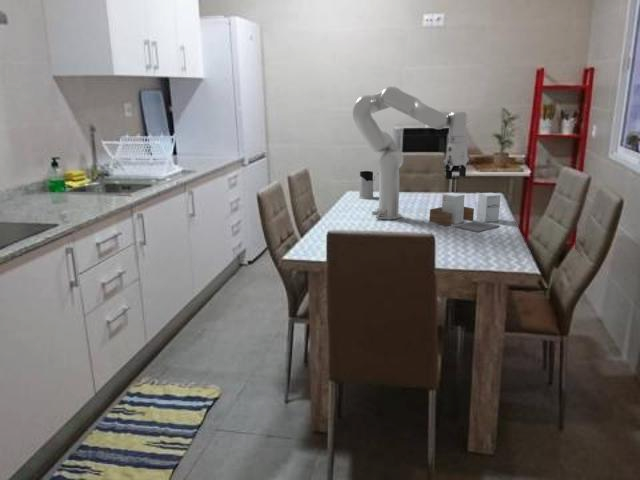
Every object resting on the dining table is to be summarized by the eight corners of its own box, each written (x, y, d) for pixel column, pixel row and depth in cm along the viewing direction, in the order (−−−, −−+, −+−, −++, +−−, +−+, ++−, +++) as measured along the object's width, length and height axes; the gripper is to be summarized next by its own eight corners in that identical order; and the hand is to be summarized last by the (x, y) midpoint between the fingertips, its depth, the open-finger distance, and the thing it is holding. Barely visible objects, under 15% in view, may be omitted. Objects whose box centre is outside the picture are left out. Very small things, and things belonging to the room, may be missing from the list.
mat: (477, 232, 228) (477, 231, 228) (455, 227, 237) (455, 226, 237) (499, 226, 238) (499, 225, 237) (476, 222, 247) (476, 220, 247)
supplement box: (484, 222, 246) (487, 195, 242) (476, 219, 253) (478, 193, 249) (498, 221, 248) (501, 194, 244) (489, 218, 255) (491, 192, 251)
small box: (463, 222, 247) (465, 194, 244) (455, 224, 243) (456, 196, 240) (449, 219, 253) (450, 192, 250) (440, 221, 249) (442, 193, 246)
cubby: (449, 226, 239) (450, 213, 237) (429, 221, 248) (430, 209, 246) (473, 220, 249) (473, 208, 247) (452, 216, 258) (453, 204, 256)
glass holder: (355, 197, 310) (356, 171, 306) (376, 194, 316) (376, 169, 312) (363, 199, 302) (364, 173, 298) (384, 197, 309) (384, 171, 305)
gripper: (451, 141, 230) (450, 180, 234) (475, 139, 240) (474, 176, 245) (438, 140, 236) (436, 178, 240) (462, 138, 246) (460, 174, 250)
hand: (455, 177), depth 242 cm, fingers open, 9 cm apart
